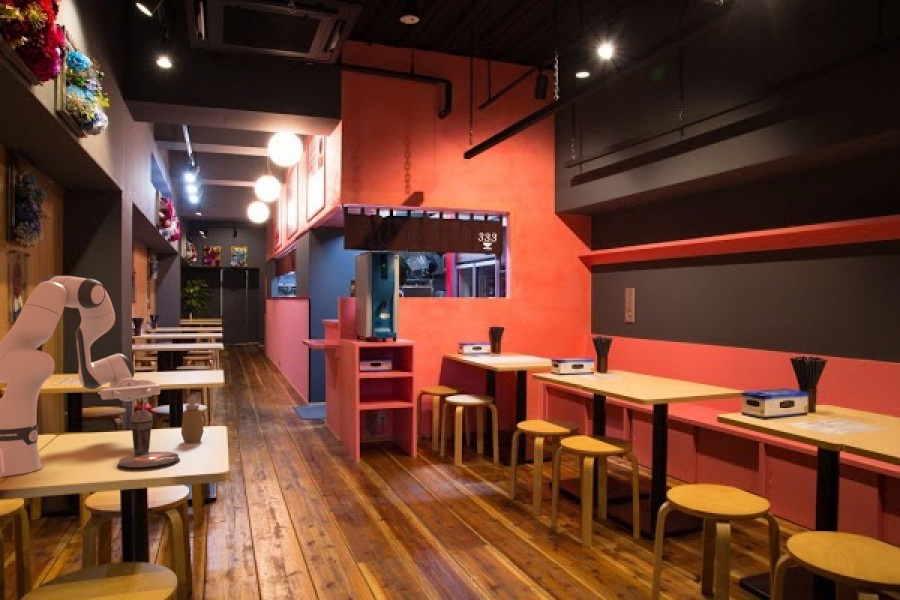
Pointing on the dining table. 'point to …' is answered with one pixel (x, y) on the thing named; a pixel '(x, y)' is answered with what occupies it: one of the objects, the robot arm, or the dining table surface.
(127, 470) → the base
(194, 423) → the squeeze bottle
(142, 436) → the beverage cup
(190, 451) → the dining table surface
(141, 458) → the dark round disc
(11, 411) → the robot arm
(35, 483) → the dining table surface
